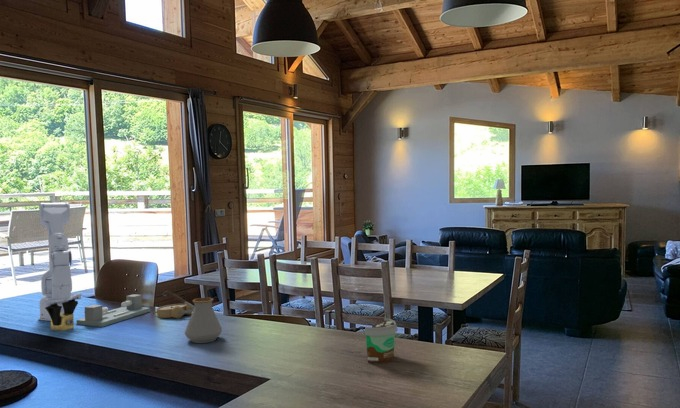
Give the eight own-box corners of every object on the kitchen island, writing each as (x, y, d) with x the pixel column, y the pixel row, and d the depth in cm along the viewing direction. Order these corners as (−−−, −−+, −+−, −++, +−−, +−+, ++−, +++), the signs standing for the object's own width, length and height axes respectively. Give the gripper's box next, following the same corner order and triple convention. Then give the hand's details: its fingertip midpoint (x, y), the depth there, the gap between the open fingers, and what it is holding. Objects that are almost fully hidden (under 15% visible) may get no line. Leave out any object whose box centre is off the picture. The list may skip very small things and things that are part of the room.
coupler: (64, 331, 172) (64, 316, 172) (49, 329, 174) (49, 315, 174) (74, 328, 175) (74, 314, 175) (59, 326, 178) (59, 312, 178)
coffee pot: (229, 336, 162) (228, 290, 162) (206, 346, 152) (206, 297, 151) (177, 330, 171) (176, 286, 170) (152, 339, 160) (151, 293, 160)
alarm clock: (170, 303, 200) (199, 300, 194) (172, 315, 200) (201, 312, 194) (149, 309, 190) (179, 306, 184) (151, 322, 190) (181, 319, 184)
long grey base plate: (76, 324, 180) (76, 306, 180) (126, 309, 203) (125, 293, 203) (102, 326, 176) (102, 308, 176) (149, 311, 199) (149, 295, 199)
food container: (385, 368, 131) (385, 330, 131) (365, 364, 134) (364, 327, 134) (405, 355, 142) (404, 320, 141) (385, 351, 145) (385, 317, 145)
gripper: (51, 289, 166) (52, 329, 167) (87, 282, 180) (87, 319, 180) (36, 288, 169) (37, 328, 169) (72, 281, 182) (73, 318, 183)
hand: (62, 323), depth 175 cm, fingers open, 4 cm apart
